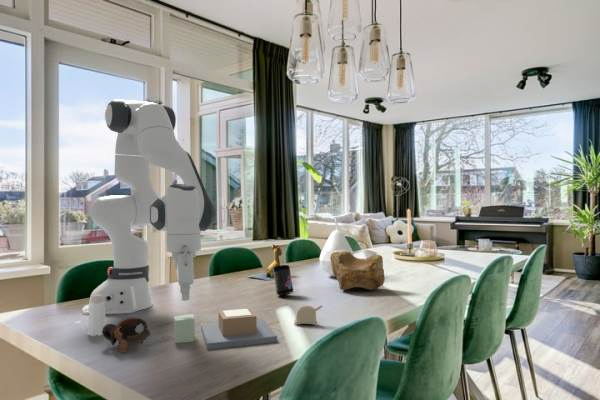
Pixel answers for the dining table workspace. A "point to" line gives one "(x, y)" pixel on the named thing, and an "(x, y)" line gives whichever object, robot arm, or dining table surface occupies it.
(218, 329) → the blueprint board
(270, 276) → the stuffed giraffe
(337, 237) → the pear ornament
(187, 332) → the sage block
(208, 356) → the dining table surface
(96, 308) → the pepper shaker
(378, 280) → the rough brown rock
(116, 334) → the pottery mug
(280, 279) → the supplement container
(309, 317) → the decorative ornament
